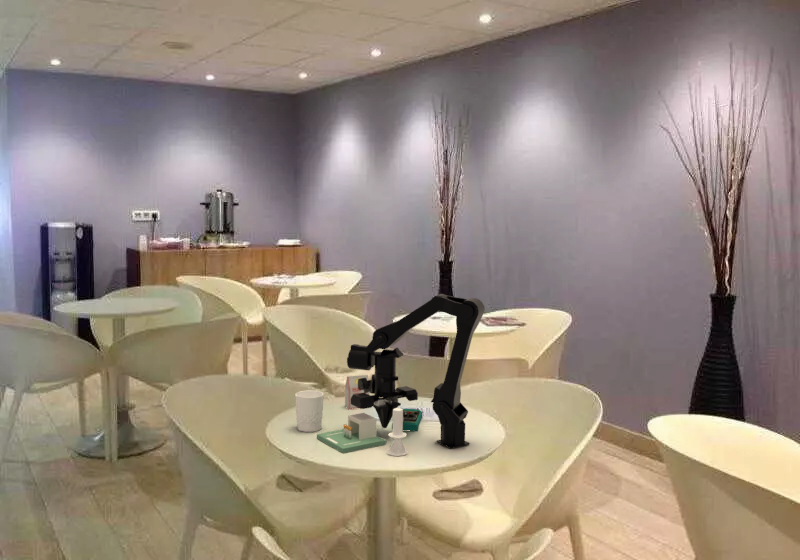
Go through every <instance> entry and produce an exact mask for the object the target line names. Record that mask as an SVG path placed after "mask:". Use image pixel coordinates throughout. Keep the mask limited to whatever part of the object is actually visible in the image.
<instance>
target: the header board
mask: <svg viewBox="0 0 800 560" xmlns="http://www.w3.org/2000/svg"><path fill="white" fill-rule="evenodd" d="M316 439H317V440H318V441H321V442H322V443H324V444H325V445H327V446H329V447H331V448H333V449H334V450H336V451H338V452H340V453H341V454H346V453H351V452H356V451H362V450H366V449H371V448H375V447H381V446H386V443H387V442H386V441H387V440H386V439H384V438H382V437H380V436H378V435H376V437H372V438H367V439H362V440H360V439H359V432H358V433H353V434H352V439H351V440H349V438H346V437H344V428H343V429H338V430H333V431H327V432H323V433H322V432H321V433H317V434H316Z"/></svg>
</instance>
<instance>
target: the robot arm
mask: <svg viewBox="0 0 800 560" xmlns="http://www.w3.org/2000/svg"><path fill="white" fill-rule="evenodd" d="M438 312H443V313H446V314H448V315H450V316H453V317H456V318H455V324H456V335H455V337H454V342H453V346H452V350H451V353H450V358H449V361H448V366H447V369H446V373H445V376H444V380H443V382H441V383H439V384H438V385H436V387H434V389H433V397H432V399H431V400H430V403H432V410H433V412H434V413H435V415H436V416H437V417H438V418H437V419H438V422H439V423H440V439H437V440H436V441H435V442H436V443H437V444H439V445H442V446H444V447H446V448H448V449H451V450H453V449H457V448H460V447H464V446H465V447H466V446H469V445H470V442H468V441H467V440H466V422H465V420H464V419H466V418H467V416H468V414H469V411H468V409H467V408H466V407H465V405H464V404H463V403H462V402H461V398H462V397H461V395H462V391H461V390H462V389H461V382H462V381H461V380H462V377H463V373H464V370H465V366H466V362H467V358H468V354H469V351H470V347H471V343H472V338H473V335H474V333H475V331H476V329H477V328H478V326H479V324H480V322H481V320H482V318H483V316H484V313H485V305H484V303H483V302H482V301H481V299H480V298H477V297H471V298H468V299H467V298H463V297H457V296H452V295H446V294H444V293H439V294H436V295H434V296H432V298H431V299H430V300H428V301H427V302H425V303H423V304H422V305H421V306H419V307H418V308H416V309H414V310H413V311H411V312H410V313H408V314H406V315H405V316H403V317H402V318H400V319H399V320H396V321H394V322H391V323H389V324H387V325H384V326H381V327H380V328H377V329H375V330H374V331H373V333H372V336H371V337H372V339H371V341H370V342H369V343H368V345H362V344H361V345H360V344H356V343H354V344H351V345H350V349H349V351H348V355H347V358H346V364H347V365H346V366H347V368H348V369H351V370H358V371H359V370H360V371H370V370H371V369H372V368H374V374H373V373H372V375H371V378H370V380H369V379H368V381H367V379H366V378H360V379H358V389H359V390H364V393H359V394H353V395H352V397H351V405H353V406H356V407H358V408H360V410H362V409H370V408H374V409H375V411H376V413H377V416H378V420H379V422H380V425H381V428H382V429H387V428H388V426H389V424H390V422H391V420H392V416H393V409H395V408H399V407H400V406H401V405H402V403H401V402H399V399H401V398H402V399H403V398H406V399H407V401H408V402H412V401H418V399H419V397H418V396H419V394H418V391H417V389H416V388H413V387H410V386H407V385H405V386H400V387H396V382H397V381H399V376H397V374H396V373H397V372H396V371H397V367H396V366H397V364H396V363H397V359H399V358H402V357H403V356H404V355H405V354H404V352H403V351H401V350H400V349H399V347H395V348H393V349H388V348H390V347H392V346H394V345H396V344H397V343H398V342H399V341H400V340H401V339H402V338H404V336H405V335H406V334H407V333H408V332H410V331H411V330H412V329H413V328H415V327H416V326H418V325H419V324H421V323H423V322H424V321H426V320H427V319H430V318H431V317H433V316H434V315H435V314H437V313H438ZM380 349H381V351H377V350H380ZM368 392H370V393H369V395H368V394H366V393H368ZM370 394H371V395H370Z"/></svg>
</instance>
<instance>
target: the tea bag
mask: <svg viewBox="0 0 800 560" xmlns="http://www.w3.org/2000/svg"><path fill="white" fill-rule="evenodd" d="M360 378H366V379H367V381H368V380H369V375H368V374H362V375H348V376H346V381H345V388H344V407H345V408H346V407H347V408H348V410H349V409H350V410H353V409H352V408H358V407H356V406H353V405H351V397H352V395H353V394H359V393H364V390H359V389H358V379H360ZM366 394H368V395H370V394H371V393H370V392H368V393H366ZM347 408H346V409H347Z"/></svg>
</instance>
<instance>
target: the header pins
mask: <svg viewBox="0 0 800 560" xmlns="http://www.w3.org/2000/svg"><path fill="white" fill-rule="evenodd" d="M343 429H344V437H346V438H349V440H351V439H352V427H349V426H348V424H346V423H345V424H343Z"/></svg>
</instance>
